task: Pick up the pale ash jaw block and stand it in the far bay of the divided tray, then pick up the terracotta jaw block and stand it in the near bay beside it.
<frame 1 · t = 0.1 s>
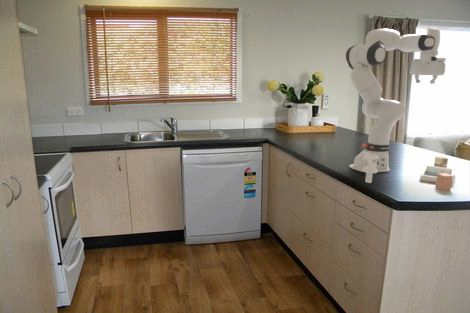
hand: (424, 83, 205), 48 cm above the worktop, fingers open, 8 cm apart
ash jaw block: (439, 169, 203), on the worktop
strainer: (368, 182, 176), on the worktop
divided tray: (437, 177, 187), on the worktop
terracotta jaw block: (442, 188, 168), on the worktop
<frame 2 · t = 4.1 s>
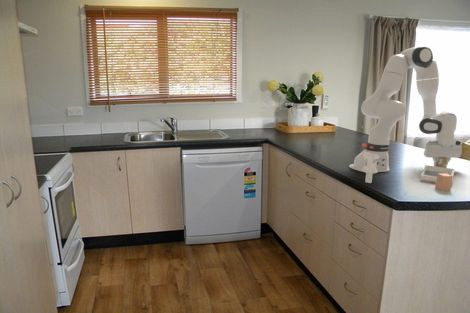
hand: (440, 164, 203), 3 cm above the worktop, fingers closed on ash jaw block, 4 cm apart
ash jaw block: (439, 169, 203), on the worktop, touching gripper
everything else where it was.
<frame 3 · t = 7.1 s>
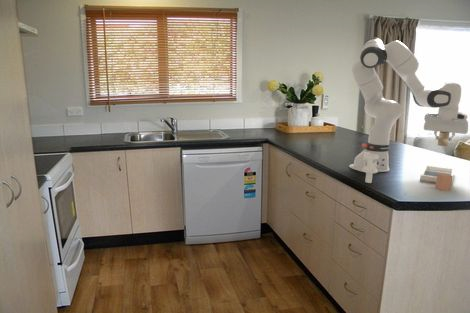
hand: (443, 140, 188), 19 cm above the worktop, fingers closed on ash jaw block, 4 cm apart
ash jaw block: (442, 145, 188), point 16 cm above the worktop, touching gripper
everything else where it was.
when the fingers open (5 cm above the worktop, at t = 10.3 s): ash jaw block drops 1 cm, resting on divided tray.
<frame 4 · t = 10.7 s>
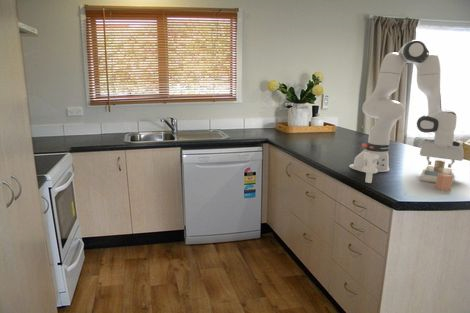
hand: (439, 166, 190), 5 cm above the worktop, fingers open, 8 cm apart
ash jaw block: (438, 173, 191), point 1 cm above the worktop, touching divided tray
everything else where it was.
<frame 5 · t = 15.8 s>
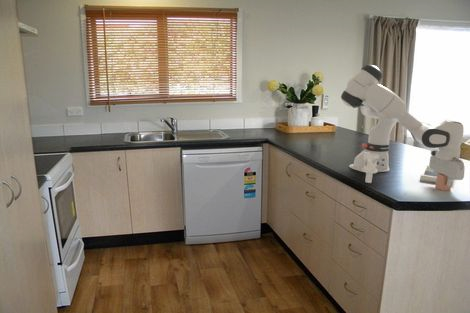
hand: (443, 183, 168), 3 cm above the worktop, fingers closed on terracotta jaw block, 4 cm apart
terracotta jaw block: (442, 188, 168), on the worktop, touching gripper
everything else where it was.
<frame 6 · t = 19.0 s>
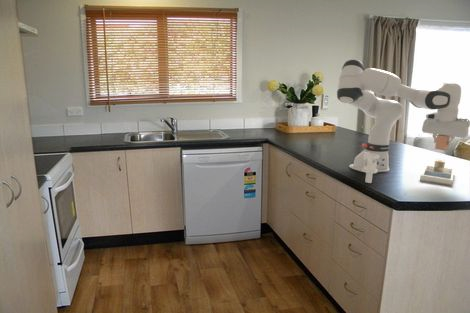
hand: (442, 144, 177), 19 cm above the worktop, fingers closed on terracotta jaw block, 4 cm apart
terracotta jaw block: (441, 149, 178), point 16 cm above the worktop, touching gripper
everything else where it was.
when the fingers open (5 cm above the worktop, at t = 22.1 s): terracotta jaw block drops 1 cm, resting on divided tray.
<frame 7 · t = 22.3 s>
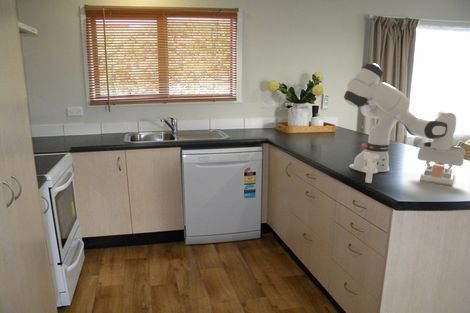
hand: (437, 171, 181), 5 cm above the worktop, fingers open, 6 cm apart
terracotta jaw block: (436, 178, 182), point 1 cm above the worktop, touching divided tray
everything else where it was.
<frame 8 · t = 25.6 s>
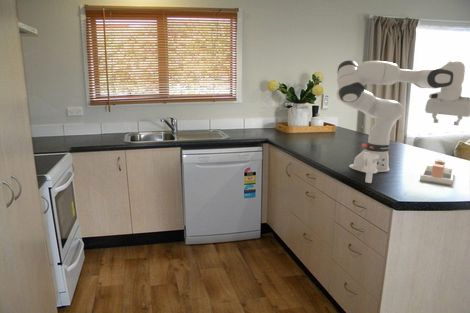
hand: (445, 124, 175), 29 cm above the worktop, fingers open, 8 cm apart
nothing on the worktop moved.
at the end: ash jaw block 0.1 cm from the target spot on the divided tray, point 0.8 cm above the divided tray's base; terracotta jaw block 0.1 cm from the target spot on the divided tray, point 0.8 cm above the divided tray's base; terracotta jaw block tilted 0° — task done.
